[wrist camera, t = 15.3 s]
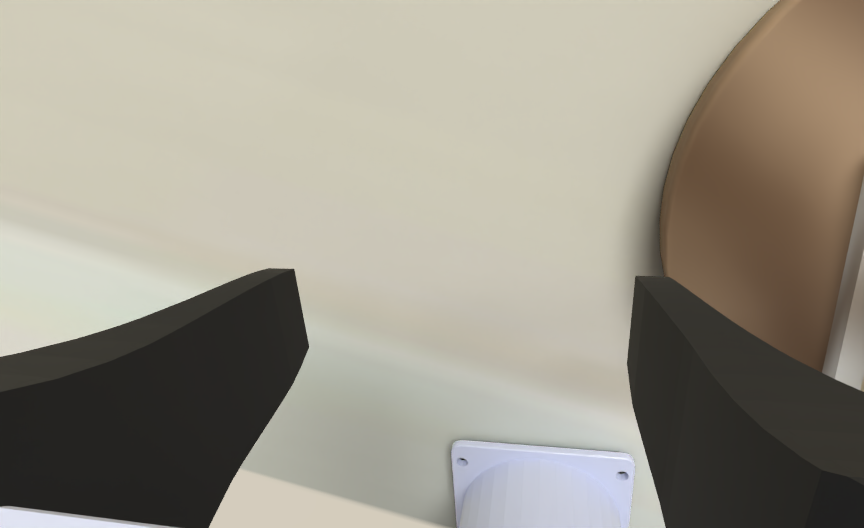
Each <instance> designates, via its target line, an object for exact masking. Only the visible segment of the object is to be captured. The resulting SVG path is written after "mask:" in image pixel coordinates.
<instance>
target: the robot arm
mask: <svg viewBox="0 0 864 528" xmlns="http://www.w3.org/2000/svg"><path fill="white" fill-rule="evenodd" d="M308 348H309V344H308V339H307V334H306V329H305V323H304V318H303V313H302V308H301V303H300V297H299V292H298V287H297V282H296V276H295V271H294V269H271V268H269V269H265V270H261V271H257V272H254V273H251V274H248V275H246V276H243V277H241V278H238V279H236V280H233V281H231V282H228V283H226V284H223V285H221V286H219V287H216V288H214V289H212V290H209V291H207V292H205V293H202V294H200V295H197V296H195V297H193V298H190V299H188V300H186V301H183V302H181V303H178V304H175V305H173V306H170V307H168V308H165V309H163V310H160V311H158V312H155V313H153V314H150V315H147V316H145V317H142V318H140V319H137V320H134V321H131V322H129V323H126V324H123V325H120V326H117V327H114V328H111V329H107V330H104V331H101V332H98V333H95V334H91V335H88V336H85V337H81V338H78V339H74V340H70V341H66V342H62V343H58V344H54V345H50V346H46V347H42V348H38V349H34V350H30V351H26V352H22V353H17V354H13V355H8V356H3V357H0V528H209V526H210V523H211V521H212V519H213V517H214V515H215V513H216V511H217V509H218V507H219V505H220V503H221V501H222V499H223V497H224V495H225V493H226V491H227V489H228V487H229V485H230V483H231V482H232V480H233V478H234V476H235V475H236V473H237V471H238V470H239V468H240V466H241V464H242V463H243V461H244V460H245V458H246V457H247V455H248V453H249V452H250V450H251V449H252V447H253V446H254V444H255V443H256V441H257V440H258V438H259V436H260V435H261V433H262V432H263V430H264V429H265V427H266V426H267V424H268V423H269V421H270V419H271V418H272V416H273V415H274V413H275V412H276V410H277V409H278V407H279V405H280V404H281V402H282V401H283V399H284V397H285V396H286V394H287V393H288V391H289V389H290V388H291V386H292V384H293V383H294V381H295V378H296V376H297V374H298V372H299V370H300V368H301V365H302V363H303V360H304V358H305V356H306V353H307V351H308ZM627 366H628V374H629V382H630V390H631V397H632V404H633V408H634V412H635V416H636V420H637V423H638V427H639V430H640V434H641V438H642V441H643V445H644V448H645V452H646V455H647V459H648V462H649V466H650V470H651V473H652V477H653V480H654V484H655V487H656V491H657V494H658V498H659V501H660V505H661V509H662V514H663V518H664V522H665V526H666V528H864V392H863V391H861V390H858V389H856V388H854V387H851V386H849V385H847V384H845V383H843V382H840V381H838V380H836V379H834V378H832V377H830V376H828V375H826V374H824V373H822V372H820V371H818V370H816V369H814V368H812V367H810V366H808V365H806V364H804V363H802V362H800V361H798V360H796V359H794V358H792V357H790V356H788V355H787V354H785V353H783V352H781V351H779V350H778V349H776V348H774V347H773V346H771V345H769V344H768V343H766V342H764V341H763V340H761V339H760V338H758V337H756V336H755V335H753V334H751V333H750V332H748V331H747V330H745V329H744V328H742V327H740V326H739V325H737V324H736V323H734V322H733V321H731V320H730V319H728V318H727V317H726V316H724V315H723V314H721V313H720V312H718V311H717V310H716V309H714V308H713V307H711V306H710V305H709V304H707V303H706V302H704V301H703V300H702V299H700V298H699V297H698V296H696V295H695V294H693V293H692V292H691V291H689V290H688V289H687V288H685V287H684V286H682V285H681V284H680V283H678V282H677V281H675V280H674V279H672V278H670V277H653V276H636V277H635V287H634V297H633V308H632V318H631V329H630V339H629V349H628V360H627ZM460 458H464V459H466V460H461V459H460ZM451 460H452V473H453V485H454V498H455V511H456V524H457V528H629V521H630V512H631V502H632V493H633V484H634V474H635V463H634V459H633V457H632V456H631V455H629V454H627V453H622V452H609V451H597V450H584V449H571V448H558V447H545V446H532V445H519V444H507V443H494V442H481V441H468V440H458V441H456V442H454V443H453V445H452V449H451ZM622 471H623V472H626V473H623V474H620V473H618V472H622Z"/></svg>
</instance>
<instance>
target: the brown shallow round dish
mask: <svg viewBox="0 0 864 528" xmlns="http://www.w3.org/2000/svg"><path fill="white" fill-rule="evenodd" d="M659 224H660V254H661V260H662V266H663V272H664V277H670V278H672V279H674V280H675V281H677V282H678V283H680V284H681V285H682V286H684V287H685V288H687V289H688V290H689V291H691V292H692V293H693V294H695V295H696V296H698V297H699V298H700V299H702V300H703V301H704V302H706V303H707V304H709V305H710V306H711V307H713V308H714V309H716V310H717V311H718V312H720V313H721V314H723V315H724V316H726V317H727V318H728V319H730V320H731V321H733V322H734V323H736V324H737V325H739V326H740V327H742V328H744V329H745V330H747V331H748V332H750V333H751V334H753V335H755V336H756V337H758V338H760V339H761V340H763V341H764V342H766V343H768V344H769V345H771V346H773V347H774V348H776V349H778V350H779V351H781V352H783V353H785V354H787V355H788V356H790V357H792V358H794V359H796V360H798V361H800V362H802V363H804V364H806V365H808V366H810V367H812V368H814V369H816V370H818V371H820V372H822V373H824V374H826V375H828V376H830V377H832V378H834V379H836V380H838V381H840V382H843V383H845V384H847V385H849V386H851V387H854V388H856V389H858V390H861V391H863V392H864V0H780V1H779V2H778V3H777V4H776V5H775V6H773V7H772V8H771V9H770V10H769V11H768V12H767V13H766V14H765V15H764V16H763V17H762V18H761V19H760V20H759V22H758V23H757V24H756V25H755V26H754V27H753V28H752V29H751V30H750V31H749V32H748V34H747V35H746V36H745V37H744V38H743V39H742V40H741V41H740V42H739V43H738V44H737V45H736V47H735V48H734V49H733V51H732V52H731V53H730V55H729V56H728V57H727V59H726V60H725V61H724V63H723V64H722V65H721V67H720V68H719V69H718V71H717V72H716V74H715V75H714V76H713V78H712V79H711V80H710V82H709V83H708V85H707V87H706V88H705V90H704V92H703V93H702V95H701V97H700V99H699V100H698V102H697V104H696V106H695V107H694V109H693V111H692V113H691V114H690V116H689V118H688V120H687V122H686V125H685V127H684V129H683V132H682V134H681V136H680V139H679V141H678V143H677V146H676V148H675V151H674V153H673V156H672V160H671V163H670V167H669V171H668V174H667V178H666V181H665V185H664V190H663V197H662V205H661V212H660V220H659Z"/></svg>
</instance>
